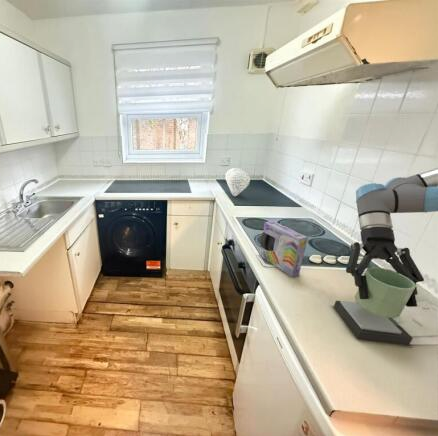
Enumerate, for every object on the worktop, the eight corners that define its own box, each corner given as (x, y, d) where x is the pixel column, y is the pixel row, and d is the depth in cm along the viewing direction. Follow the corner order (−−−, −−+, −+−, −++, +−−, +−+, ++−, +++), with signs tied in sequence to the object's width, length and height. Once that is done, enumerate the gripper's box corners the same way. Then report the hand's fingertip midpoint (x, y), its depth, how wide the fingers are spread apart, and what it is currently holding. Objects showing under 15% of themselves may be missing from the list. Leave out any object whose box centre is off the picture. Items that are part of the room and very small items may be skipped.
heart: (221, 191, 212) (224, 166, 203) (239, 191, 210) (243, 166, 202) (228, 201, 186) (232, 173, 177) (249, 201, 185) (254, 173, 176)
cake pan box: (256, 254, 113) (263, 220, 106) (265, 252, 114) (272, 219, 108) (290, 277, 96) (300, 239, 89) (299, 275, 98) (310, 237, 91)
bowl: (394, 302, 73) (409, 274, 69) (404, 324, 65) (421, 294, 61) (352, 290, 78) (363, 263, 74) (356, 309, 70) (369, 281, 66)
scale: (376, 312, 79) (380, 303, 78) (408, 345, 67) (414, 336, 66) (333, 307, 81) (336, 298, 80) (357, 339, 69) (361, 329, 68)
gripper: (411, 238, 76) (426, 311, 68) (328, 229, 81) (333, 296, 73) (432, 230, 69) (451, 310, 61) (340, 221, 74) (347, 293, 67)
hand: (387, 302), depth 67 cm, fingers closed on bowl, 10 cm apart
